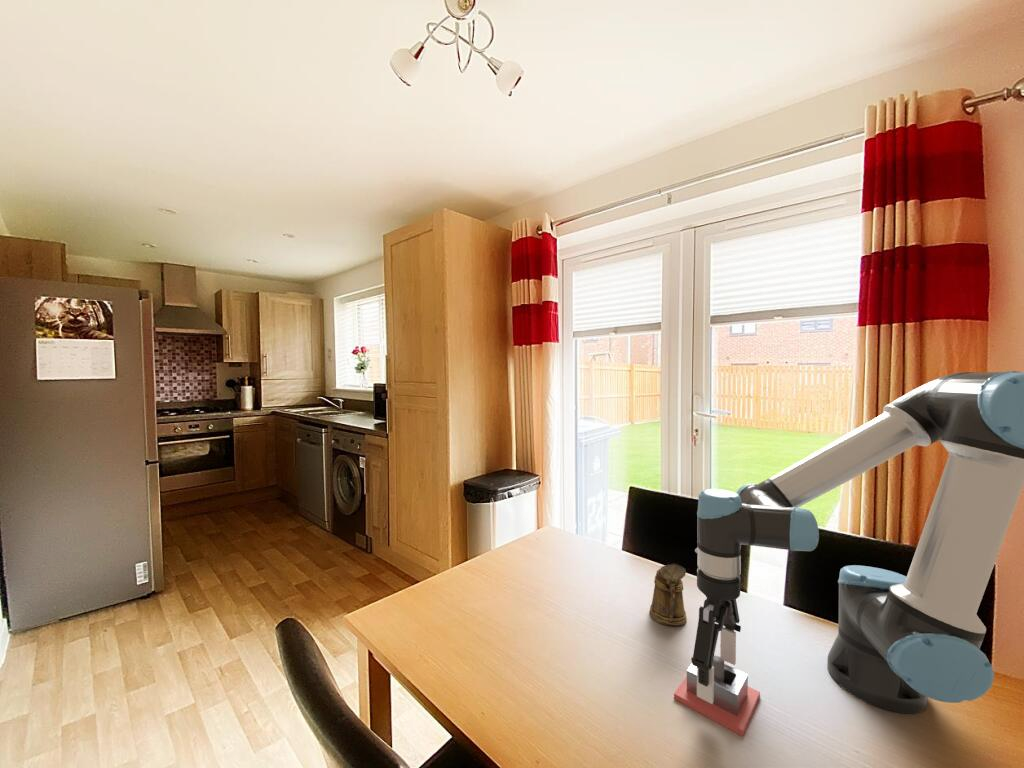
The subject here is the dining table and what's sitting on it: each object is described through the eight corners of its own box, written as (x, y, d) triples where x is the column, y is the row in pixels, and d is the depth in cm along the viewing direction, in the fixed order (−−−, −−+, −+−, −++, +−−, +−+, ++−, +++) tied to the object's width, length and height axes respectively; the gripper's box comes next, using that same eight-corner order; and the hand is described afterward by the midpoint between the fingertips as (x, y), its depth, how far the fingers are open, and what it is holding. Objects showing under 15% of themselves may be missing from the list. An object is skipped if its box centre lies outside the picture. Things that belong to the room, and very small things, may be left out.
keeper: (759, 696, 80) (760, 659, 80) (742, 736, 71) (743, 694, 71) (696, 666, 88) (696, 632, 88) (674, 698, 79) (674, 660, 79)
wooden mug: (653, 635, 99) (654, 561, 98) (647, 604, 112) (648, 539, 111) (693, 640, 97) (694, 565, 96) (682, 608, 110) (683, 542, 109)
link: (747, 694, 79) (747, 674, 79) (737, 716, 74) (737, 694, 74) (699, 671, 85) (699, 652, 85) (686, 690, 80) (686, 670, 80)
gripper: (718, 546, 91) (717, 640, 91) (672, 588, 73) (672, 705, 73) (756, 556, 85) (755, 656, 86) (718, 605, 67) (716, 730, 68)
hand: (717, 679), depth 79 cm, fingers open, 13 cm apart
